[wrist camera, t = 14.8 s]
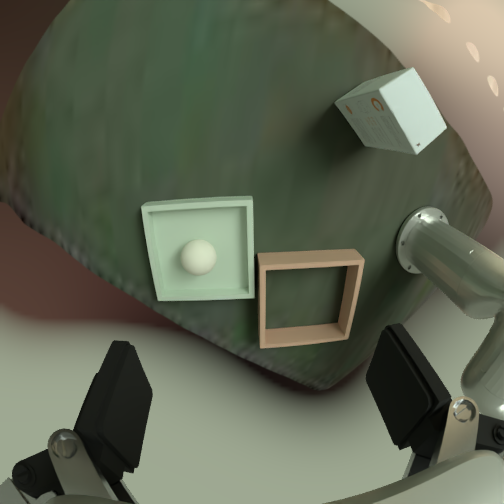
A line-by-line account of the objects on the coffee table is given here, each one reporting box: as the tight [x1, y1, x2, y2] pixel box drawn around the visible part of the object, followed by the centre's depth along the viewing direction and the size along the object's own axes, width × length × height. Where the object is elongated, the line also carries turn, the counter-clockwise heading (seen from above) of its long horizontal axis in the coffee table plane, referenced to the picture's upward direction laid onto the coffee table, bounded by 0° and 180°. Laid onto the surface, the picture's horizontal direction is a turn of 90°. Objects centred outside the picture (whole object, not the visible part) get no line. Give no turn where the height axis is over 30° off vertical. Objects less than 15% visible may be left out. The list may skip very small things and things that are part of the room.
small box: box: [334, 67, 447, 155], centre depth 27 cm, size 8×6×13 cm
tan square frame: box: [257, 249, 365, 348], centre depth 43 cm, size 16×16×4 cm
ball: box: [180, 239, 217, 276], centre depth 37 cm, size 5×5×5 cm
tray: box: [141, 196, 255, 301], centre depth 39 cm, size 15×15×2 cm
